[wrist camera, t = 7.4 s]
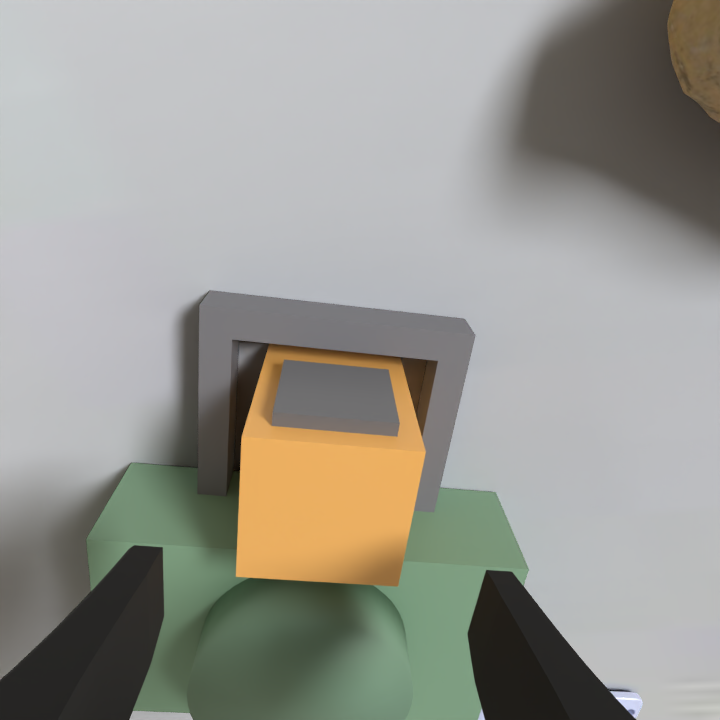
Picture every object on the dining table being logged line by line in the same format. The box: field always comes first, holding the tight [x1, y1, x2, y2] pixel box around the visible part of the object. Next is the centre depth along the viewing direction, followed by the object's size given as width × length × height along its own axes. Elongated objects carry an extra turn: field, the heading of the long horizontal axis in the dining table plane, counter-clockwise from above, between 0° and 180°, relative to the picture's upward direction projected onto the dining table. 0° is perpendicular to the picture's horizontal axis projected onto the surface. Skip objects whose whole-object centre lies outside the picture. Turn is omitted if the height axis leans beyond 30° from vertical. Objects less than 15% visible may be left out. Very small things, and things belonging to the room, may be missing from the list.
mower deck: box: [86, 291, 529, 720], centre depth 18 cm, size 15×14×6 cm
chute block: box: [236, 343, 426, 587], centre depth 17 cm, size 5×4×6 cm
